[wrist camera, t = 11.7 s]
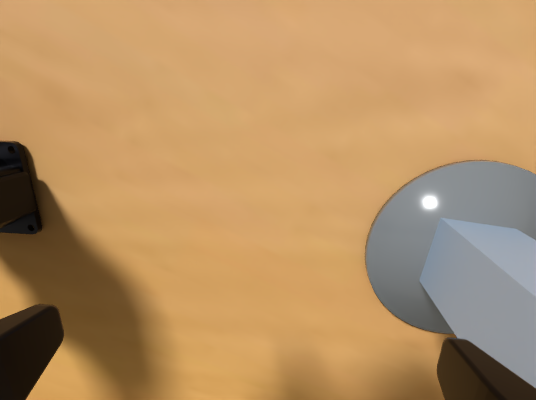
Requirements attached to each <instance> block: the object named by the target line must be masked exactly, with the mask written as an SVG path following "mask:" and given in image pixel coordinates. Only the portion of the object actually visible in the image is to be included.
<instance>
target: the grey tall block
mask: <svg viewBox="0 0 536 400" xmlns="http://www.w3.org/2000/svg"><path fill="white" fill-rule="evenodd" d="M419 281H420V283H421V284H422V286H423V287H424V289H425V290H426V292H427V293H428V295H429V296H430V298H431V299H432V301H433V302H434V304H435V305H436V307H437V308H438V310H439V311H440V313H441V314H442V316H443V317H444V319H445V320H446V322H447V323H448V325H449V326H450V328H451V329H452V331H453V332H454V334H455V335H456V337H457V338H460V339H466V340H468V341H470V342H471V343H473V344H474V345H476V346H477V347H478V348H480V349H481V350H483V351H484V352H486V353H487V354H488V355H490V356H491V357H493V358H494V359H495V360H497V361H498V362H500V363H501V364H502V365H504V366H505V367H507V368H508V369H509V370H511V371H512V372H514V373H515V374H516V375H518V376H519V377H521V378H522V379H523V380H525V381H526V382H528V383H529V384H530V385H532V386H533V387H535V388H536V240H534V239H533V238H531V237H529V236H528V235H526V234H524V233H523V232H521V231H519V230H518V229H514V228H507V227H500V226H493V225H487V224H480V223H473V222H466V221H459V220H453V219H446V218H440V221H439V224H438V227H437V229H436V232H435V235H434V238H433V241H432V244H431V247H430V250H429V253H428V256H427V259H426V262H425V265H424V268H423V271H422V274H421V277H420V280H419Z"/></svg>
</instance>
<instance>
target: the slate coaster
mask: <svg viewBox="0 0 536 400" xmlns="http://www.w3.org/2000/svg"><path fill="white" fill-rule="evenodd" d="M440 218H446V219H453V220H459V221H466V222H473V223H480V224H487V225H493V226H500V227H507V228H514V229H518V230H519V231H521V232H523V233H524V234H526V235H528V236H529V237H531V238H533V239H534V240H536V175H535V174H533V173H532V172H530V171H527V170H525V169H522V168H519V167H517V166H513V165H510V164H506V163H502V162H497V161H487V160H469V161H462V162H455V163H451V164H447V165H443V166H440V167H437V168H435V169H432V170H430V171H427V172H425V173H423V174H421V175H420V176H418V177H416V178H414V179H413V180H411V181H410V182H408V183H407V184H405V185H404V186H402V187H401V188H400V189H399V190H398V191H397V192H396V193H394V194H393V195H392V196H391V197H390V199H389V200H388V201H387V202H386V203H385V204H384V205H383V207H382V208H381V210H380V211H379V213H378V214H377V216H376V218H375V220H374V221H373V223H372V225H371V228H370V231H369V234H368V237H367V242H366V246H365V264H366V270H367V274H368V277H369V280H370V282H371V285H372V287H373V289H374V292H375V293H376V295H377V296H378V298H379V300H380V301H381V302H382V303H383V305H384V306H385V307H386V308H387V309H388V310H389V311H390V312H392V313H393V314H394V315H395V316H397V317H398V318H400V319H401V320H403V321H405V322H407V323H409V324H411V325H413V326H415V327H418V328H421V329H424V330H428V331H432V332H438V333H446V334H454V332H453V331H452V329H451V328H450V326H449V325H448V323H447V322H446V320H445V319H444V317H443V316H442V314H441V313H440V311H439V310H438V308H437V307H436V305H435V304H434V302H433V301H432V299H431V298H430V296H429V295H428V293H427V292H426V290H425V289H424V287H423V286H422V284H421V283H420V281H419V280H420V277H421V274H422V271H423V268H424V265H425V262H426V259H427V256H428V253H429V250H430V247H431V244H432V241H433V238H434V235H435V232H436V229H437V227H438V224H439V221H440Z"/></svg>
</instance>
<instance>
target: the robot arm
mask: <svg viewBox="0 0 536 400" xmlns="http://www.w3.org/2000/svg"><path fill="white" fill-rule="evenodd" d="M13 147H14V149H15V151H14V150H13ZM32 225H33V226H34V227H33V226H32ZM41 230H42V223H41V219H40V215H39V210H38V206H37V202H36V198H35V194H34V190H33V185H32V181H31V177H30V173H29V169H28V165H27V160H26V156H25V152H24V148H23V146H22V145H21V144H20V143H19V142H16V141H0V232H3V233H20V234H36V233H38V232H40V231H41ZM63 337H64V330H63V326H62V322H61V318H60V313H59V310H58V308H57V307H56V306H54V305H45V304H38V305H34V306H32V307H29V308H27V309H24V310H22V311H20V312H17V313H15V314H12V315H10V316H7V317H5V318H2V319H0V400H26V398H27V397H28V395H29V394H30V392H31V390H32V389H33V387H34V386H35V384H36V383H37V381H38V379H39V378H40V376H41V375H42V373H43V372H44V370H45V368H46V367H47V365H48V364H49V362H50V360H51V359H52V357H53V356H54V354H55V353H56V351H57V349H58V348H59V346H60V345H61V343H62V341H63ZM437 375H438V380H439V383H440V386H441V389H442V392H443V395H444V398H445V400H536V388H535V387H533V386H532V385H530V384H529V383H528V382H526V381H525V380H523V379H522V378H521V377H519V376H518V375H516V374H515V373H514V372H512V371H511V370H509V369H508V368H507V367H505V366H504V365H502V364H501V363H500V362H498V361H497V360H495V359H494V358H493V357H491V356H490V355H488V354H487V353H486V352H484V351H483V350H481V349H480V348H478V347H477V346H476V345H474V344H473V343H471V342H470V341H468V340H466V339H460V338H446V339H445V340H444V342H443V345H442V349H441V353H440V357H439V360H438V364H437Z"/></svg>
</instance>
